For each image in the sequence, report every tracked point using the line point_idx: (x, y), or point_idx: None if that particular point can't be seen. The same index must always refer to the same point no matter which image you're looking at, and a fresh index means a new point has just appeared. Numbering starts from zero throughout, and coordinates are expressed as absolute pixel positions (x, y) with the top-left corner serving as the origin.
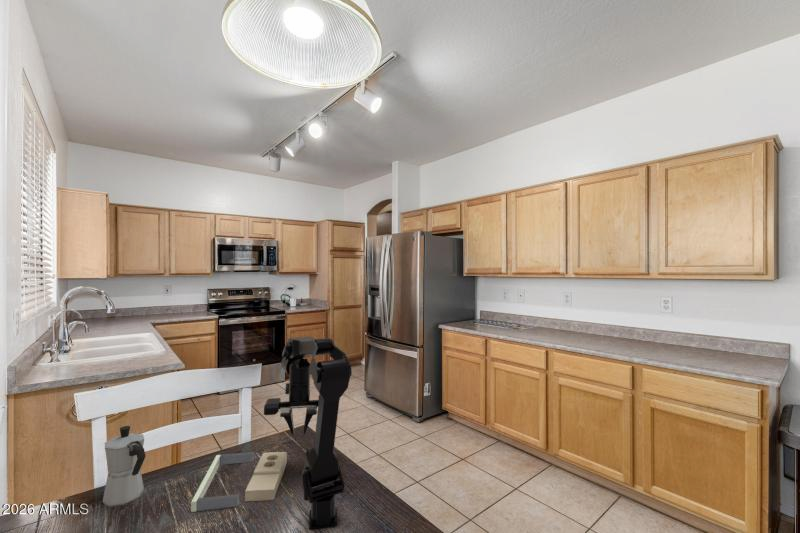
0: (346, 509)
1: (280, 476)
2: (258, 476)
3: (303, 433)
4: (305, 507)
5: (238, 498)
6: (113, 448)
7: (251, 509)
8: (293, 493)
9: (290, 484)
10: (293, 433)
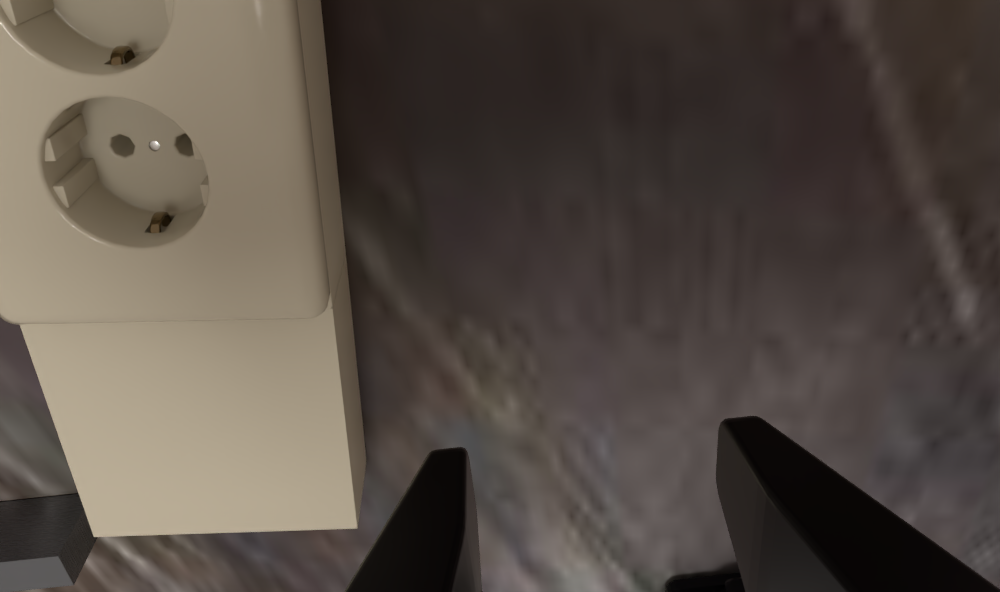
0: None
1: (335, 235)
2: (99, 341)
3: (722, 507)
4: (632, 538)
5: (77, 543)
6: None
7: (232, 543)
8: (518, 397)
9: (464, 273)
10: (479, 568)
